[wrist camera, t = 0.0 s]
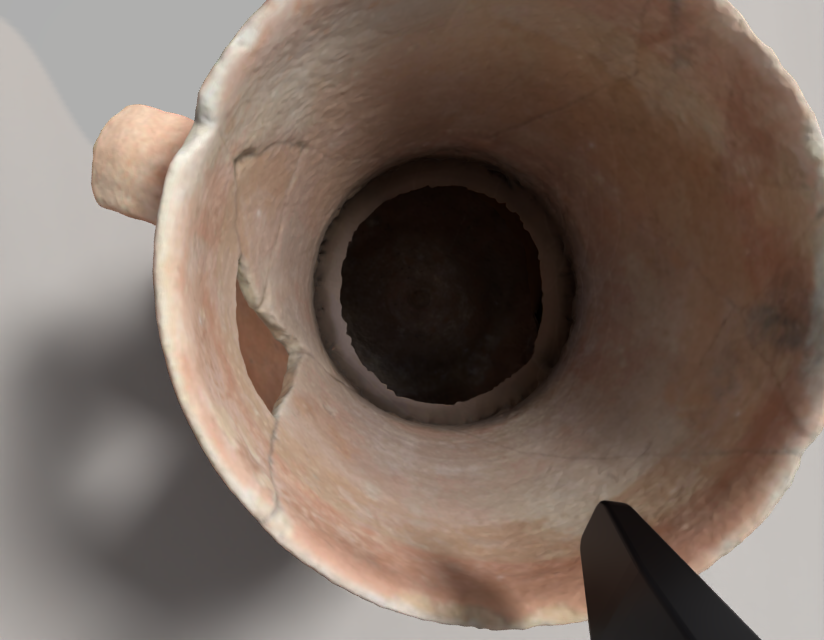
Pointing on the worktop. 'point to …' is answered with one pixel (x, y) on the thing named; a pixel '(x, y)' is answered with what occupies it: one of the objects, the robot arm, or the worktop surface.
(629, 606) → the robot arm
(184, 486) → the worktop surface
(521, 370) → the ceramic jug
